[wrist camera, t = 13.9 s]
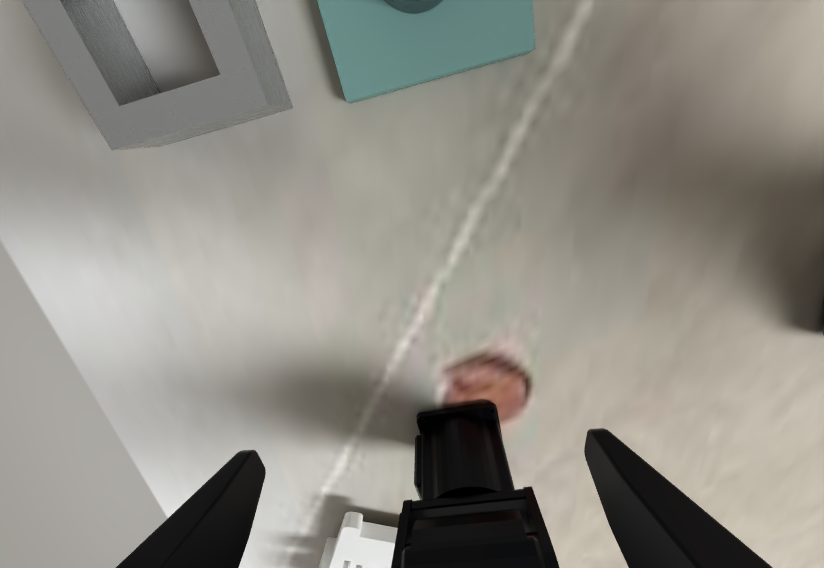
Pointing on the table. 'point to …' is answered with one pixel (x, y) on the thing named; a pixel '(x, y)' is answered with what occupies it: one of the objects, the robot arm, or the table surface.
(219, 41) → the collar
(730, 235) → the table surface
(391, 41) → the rubber mat
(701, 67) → the table surface
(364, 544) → the organizer
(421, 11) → the steel rod
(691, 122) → the table surface
